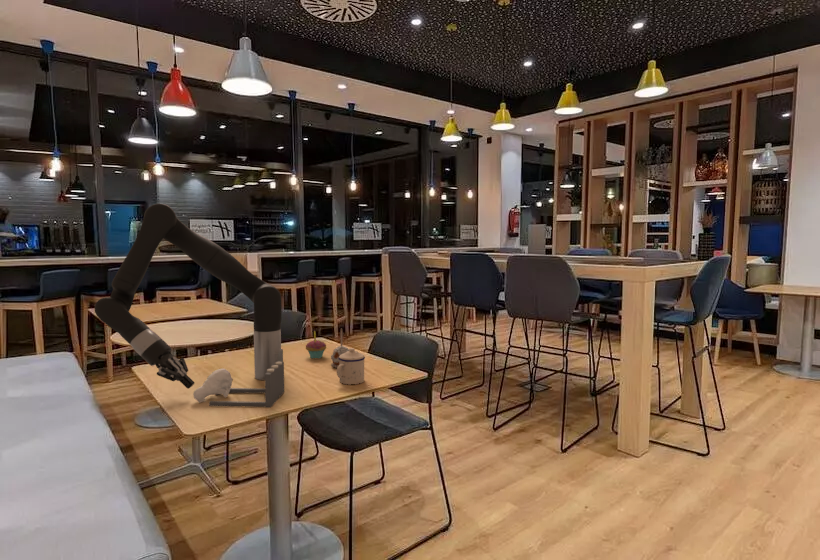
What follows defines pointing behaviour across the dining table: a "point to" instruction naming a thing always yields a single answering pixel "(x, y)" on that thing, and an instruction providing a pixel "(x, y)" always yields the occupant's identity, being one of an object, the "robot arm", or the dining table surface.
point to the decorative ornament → (338, 353)
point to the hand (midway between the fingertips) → (191, 385)
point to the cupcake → (316, 348)
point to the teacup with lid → (351, 367)
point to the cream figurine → (214, 385)
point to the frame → (261, 389)
